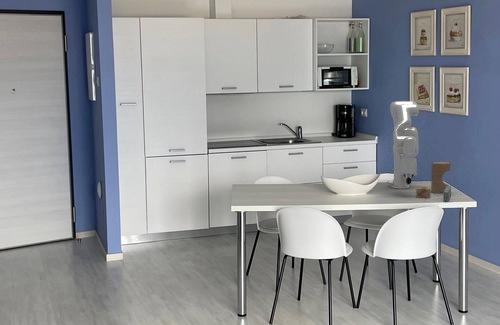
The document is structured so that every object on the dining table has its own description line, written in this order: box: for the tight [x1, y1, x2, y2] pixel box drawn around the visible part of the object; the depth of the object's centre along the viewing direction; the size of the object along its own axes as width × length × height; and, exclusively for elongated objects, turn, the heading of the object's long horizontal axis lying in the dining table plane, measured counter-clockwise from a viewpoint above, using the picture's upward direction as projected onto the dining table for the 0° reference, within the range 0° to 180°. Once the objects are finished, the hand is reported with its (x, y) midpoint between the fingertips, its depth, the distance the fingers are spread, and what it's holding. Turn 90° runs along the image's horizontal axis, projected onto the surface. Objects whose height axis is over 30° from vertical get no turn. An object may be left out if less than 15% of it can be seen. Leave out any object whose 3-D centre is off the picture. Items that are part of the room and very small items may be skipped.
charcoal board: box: [442, 185, 452, 203], centre depth 445 cm, size 2×24×6 cm, turn 160°
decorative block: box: [430, 161, 451, 194], centre depth 463 cm, size 11×6×20 cm, turn 96°
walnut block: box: [415, 186, 431, 199], centre depth 450 cm, size 8×8×6 cm
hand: (408, 184), depth 452 cm, fingers closed
